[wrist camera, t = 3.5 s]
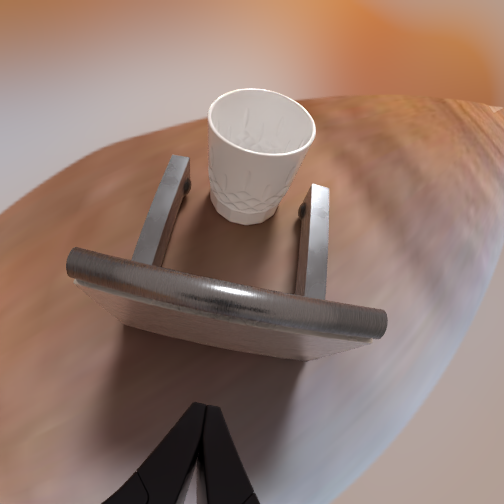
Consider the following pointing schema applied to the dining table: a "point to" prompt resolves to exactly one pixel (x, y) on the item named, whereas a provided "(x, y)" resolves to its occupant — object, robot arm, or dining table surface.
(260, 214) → the white cup
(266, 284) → the dining table surface
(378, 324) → the silver boxy shape
